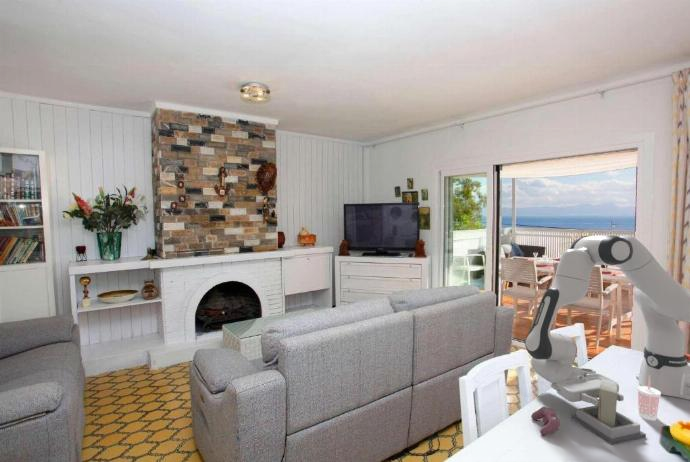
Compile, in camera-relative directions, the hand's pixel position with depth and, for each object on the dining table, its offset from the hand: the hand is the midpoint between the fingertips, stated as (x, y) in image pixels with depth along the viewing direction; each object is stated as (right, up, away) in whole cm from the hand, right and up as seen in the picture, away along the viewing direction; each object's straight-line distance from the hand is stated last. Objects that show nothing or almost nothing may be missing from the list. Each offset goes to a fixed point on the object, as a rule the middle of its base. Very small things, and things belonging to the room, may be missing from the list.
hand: (610, 400), depth 114 cm
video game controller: (-19, -9, +1) cm, 22 cm away
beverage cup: (+17, -9, +7) cm, 21 cm away
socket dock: (0, -9, +1) cm, 9 cm away
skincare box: (0, -8, +1) cm, 8 cm away
